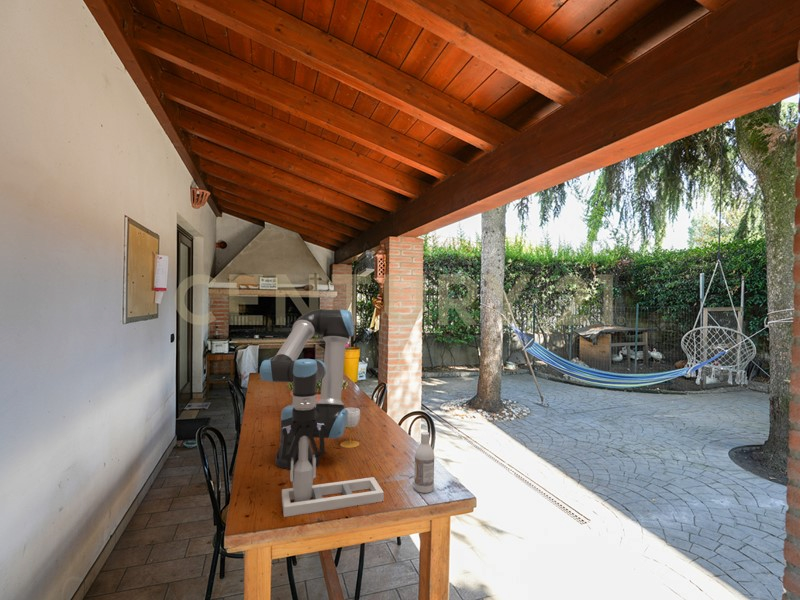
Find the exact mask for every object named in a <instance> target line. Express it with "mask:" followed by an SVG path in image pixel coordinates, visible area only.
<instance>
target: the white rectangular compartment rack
mask: <svg viewBox="0 0 800 600" xmlns="http://www.w3.org/2000/svg"><path fill="white" fill-rule="evenodd" d="M363 490H369V491H365V492H364V491H363ZM356 491H363V492H358V493H357V492H356ZM353 492H356V493H353ZM335 494H336V495H337V494H342V495H337V496H336V495H335ZM329 495H335V496H330V497H323V496H329ZM384 496H385V492H384V491H383V489H382V487H381V486H380V484H379V482H378V481H377V480H376V478H375V476H371V477H364V478H358V479H349V480H343V481H334V482H327V483H320V484H319V483H318V484H312V491H311V498H312V499H310V500H308V501H301V502H295V501H294V491H293V487H289V488H282V489H281V503H282V512H283V517H284V518H287V517H293V516H299V515H305V514H312V513H317V512H325V511H331V510H338V509H344V508H350V507H356V506H357V505H358V506H362V505H369V504H370V505H371V504H376V502H377V503H382V501H383V502H384V498H385V497H384ZM291 501H294V502H291Z"/></svg>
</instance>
